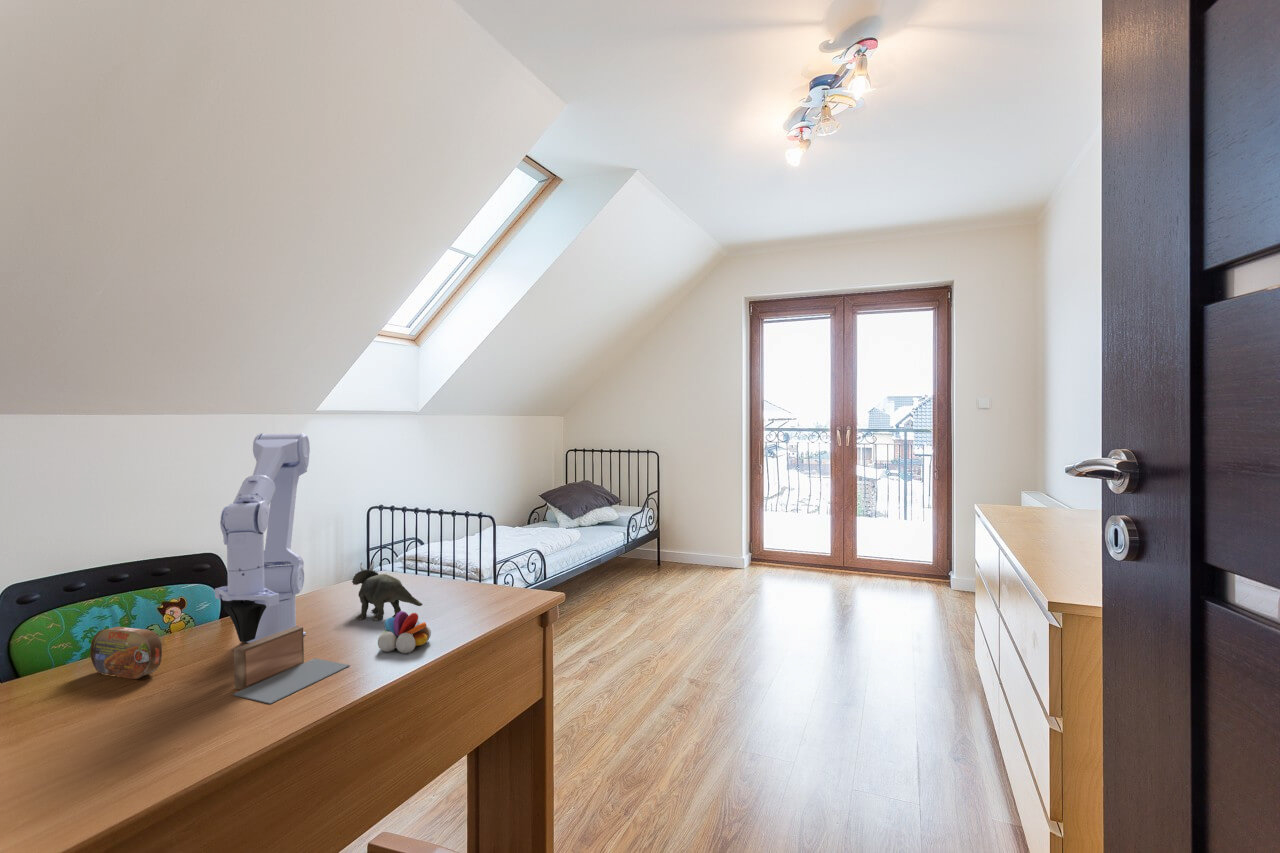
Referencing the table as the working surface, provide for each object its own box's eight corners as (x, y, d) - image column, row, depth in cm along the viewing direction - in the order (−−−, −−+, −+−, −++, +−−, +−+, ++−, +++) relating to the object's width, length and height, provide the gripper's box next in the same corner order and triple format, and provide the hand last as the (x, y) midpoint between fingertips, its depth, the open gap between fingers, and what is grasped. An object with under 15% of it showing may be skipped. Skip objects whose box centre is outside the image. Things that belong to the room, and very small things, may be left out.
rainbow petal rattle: (414, 657, 118) (413, 620, 118) (370, 653, 120) (369, 617, 120) (437, 641, 126) (436, 606, 126) (395, 638, 128) (395, 604, 128)
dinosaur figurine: (427, 619, 140) (426, 571, 139) (395, 630, 133) (394, 579, 132) (369, 604, 152) (369, 559, 151) (337, 613, 144) (336, 566, 144)
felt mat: (232, 695, 102) (232, 694, 102) (314, 659, 117) (314, 658, 117) (270, 704, 99) (270, 702, 99) (349, 666, 114) (349, 664, 114)
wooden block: (234, 688, 105) (233, 648, 105) (296, 662, 116) (295, 626, 116) (243, 690, 104) (242, 650, 104) (304, 663, 115) (304, 627, 115)
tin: (88, 673, 112) (87, 627, 112) (107, 666, 115) (106, 622, 115) (148, 682, 108) (147, 635, 107) (166, 675, 111) (165, 629, 110)
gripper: (197, 569, 111) (199, 642, 111) (252, 576, 106) (253, 653, 106) (235, 560, 118) (236, 629, 118) (288, 566, 112) (290, 639, 112)
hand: (247, 640), depth 112 cm, fingers closed
